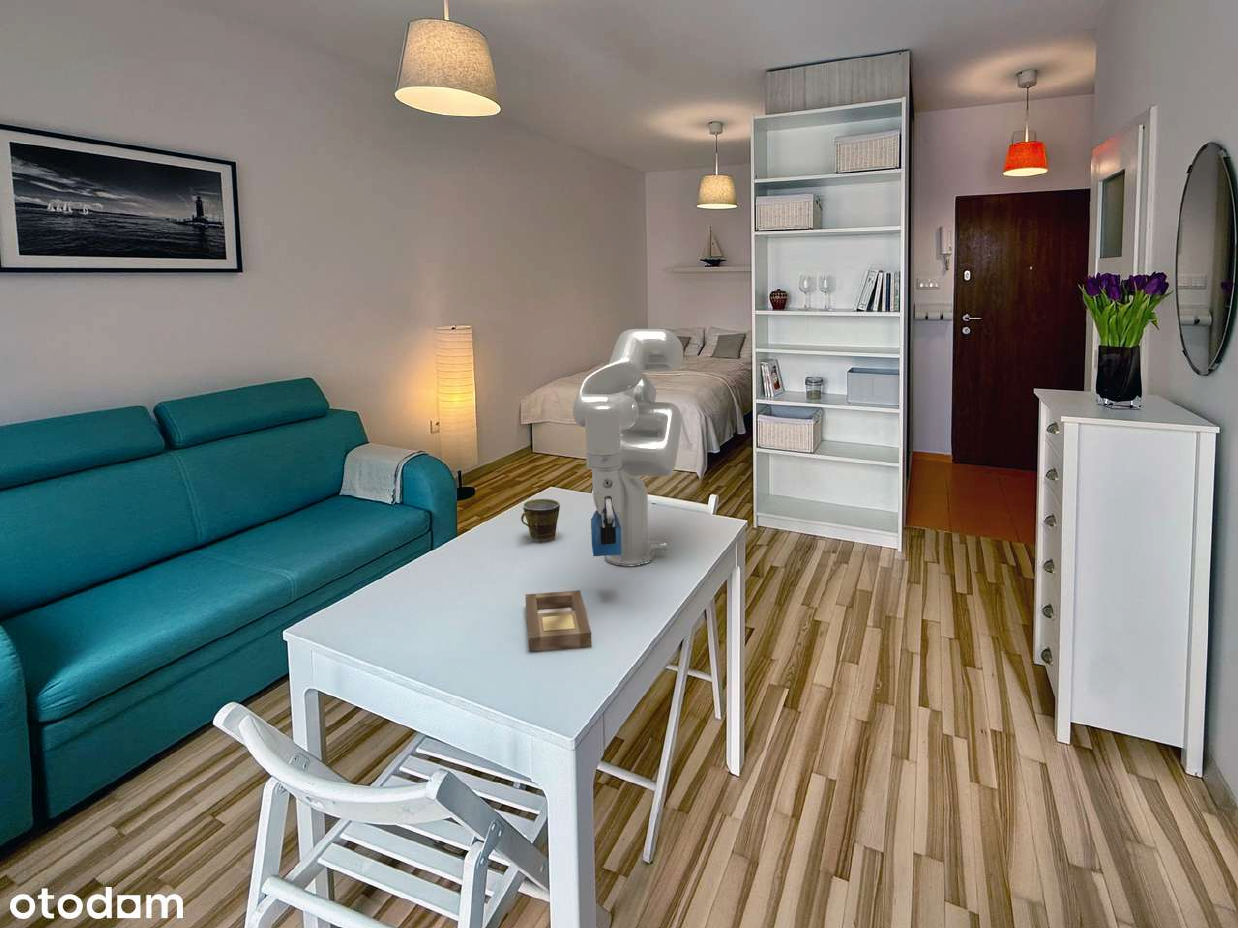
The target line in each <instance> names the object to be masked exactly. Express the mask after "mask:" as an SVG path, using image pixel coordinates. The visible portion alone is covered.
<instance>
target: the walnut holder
mask: <svg viewBox="0 0 1238 928" xmlns="http://www.w3.org/2000/svg"><path fill="white" fill-rule="evenodd" d="M525 609H526V610H525V613H526V614H525V615H526V622H527V623H526V625H527V635H528V637H527V638H528V649H529V653H535V652H536V653H537V652H547V651H558V650H559V649H560V650H569V649H579V648H590V647H592V631H591V626H590V623H589V619H588V615H587V610H586V607H585V603H584V600H583V596H582V592H581V589H578V590H577V589H576V590H564V591H552V592H541V593H540V592H539V593H537V592H536V593H525ZM560 650H559V651H560Z"/></svg>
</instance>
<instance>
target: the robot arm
mask: <svg viewBox="0 0 1238 928" xmlns="http://www.w3.org/2000/svg"><path fill="white" fill-rule="evenodd" d="M683 360H684V347H683V344H682V342H681V341H680V339H679V337H677V336H676V334H675V333H673V331H671V330H668V329H663V328H632V329H626V330H624V331H623V332H621V333H620V334H619V336H618V337H617V339H616V343H615V346H614V348H613V351H612V354H611V357H610V359H609V362H608V363H607V364H606V365H603V366H601V367H600V368H599V369H597V370H595V371H594V372H592V373H591V374H589V375H587V377H585V378H584V380H583V381H582V382H581V384H580V385H579V388H578V391H577V393H576V396H575V398H574V402H573V407H572V417H573V419H574V422H575V423H576V424H577V425H578V426H579V427H582V428H585V454H586V455H585V457H586V459H585V460H586V468H587V469H588V470H591V477H592V479H591V481H592V482H591V483H592V496H593V503H594V506H595V508H596V511H598V513H599V514H600V515H601V522H602V526H601V527H600V528H601V544H602V545H604V544H615V543H616V526H615V519H614V511H615V513H616V515H617V516H618V518H619V522H620V526H621V547H622V555H609V556H604V560H605V561H606V562H608V563H609V564H611V563H612V564H611V565H614V564H616V565H615V566H618V565H623V566H622V567H630V566H629V565H638V564H642V563H645V562H648V561H650V560H652V559H653V560H654V558H655V554H654V553H655V551H659V552H660V551H666V550H667V543H666V542H660V540H653V541H652V540H650V539H649V536H648V535H649V534H648V533H649V523H648V518H649V515H648V514H649V513H648V510H649V509H648V508H649V507H648V506H649V505H648V502H649V501H648V500H649V499H648V498H649V496H648V490H647V489H648V488H647V486H646V485H645V482H644V481H643V480H642V479H641V477H644V476H646V477H647V476H648V477H668V476H670V475H671V474H673V472H674V471H675V468H676V463H677V459H678V450H679V445H680V438H681V428H682V416H681V415H682V414H681V411H680V409H679V407H678V406H677V405H676V404H675V403H673V402H666V401H665V402H663V401H662V402H661V401H656V397H657V388H656V387H655V385H654V384H653V383H652V380H650V379H649V378H648V377H647V376H646V375H645V374H644V372H645V371H651V372H653V371H656V372H657V371H658V372H659V371H660V372H663V371H665V372H673V371H674V372H675V371H678V369H679V368H680V367H681V366H682V363H683ZM619 393H623V394H619ZM603 510H606V513H603ZM604 516H606V518H605V520H604ZM653 557H654V558H653ZM653 560H652V561H653ZM650 562H651V561H650Z"/></svg>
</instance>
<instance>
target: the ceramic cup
mask: <svg viewBox="0 0 1238 928" xmlns="http://www.w3.org/2000/svg"><path fill="white" fill-rule="evenodd" d="M560 506H561V503H560V501H558V500H556V499H551V498H538V499H537V498H535V499H531V500H528V501H527V500H526V501H525V502H524V503H523V504H522V509H523V513H522V514H521V518H520V521H521V523H522V524H523V525H525V526H527V528H528V531H529V536H530V540H531V542H533V543H536V544H537V543H538V544H545V543H550V542H553V541H554V540H556V532H557V525H558V520H559V515H560V508H561V507H560ZM524 518H525V520H526V522H525V521H524Z"/></svg>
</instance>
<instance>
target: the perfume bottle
mask: <svg viewBox="0 0 1238 928" xmlns="http://www.w3.org/2000/svg"><path fill="white" fill-rule="evenodd" d="M603 513H606V510H603ZM605 518H606V516H604V520H605ZM614 519H615V526H616V543H615V544H604V545H602V544H601V528H600V527H601V526H602V522H601V515H600V514H599V513H598V511H597V510H595V511H594V513H593V515H592V517H591V519H590V529H591V531H590V532H591V533H590V534H591V536H590V537H591V550H592V556H593V557H605V556H609V555H622V547H621V526H620V522H619V518H618V516H617V515H616V513H615V511H614Z"/></svg>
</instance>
